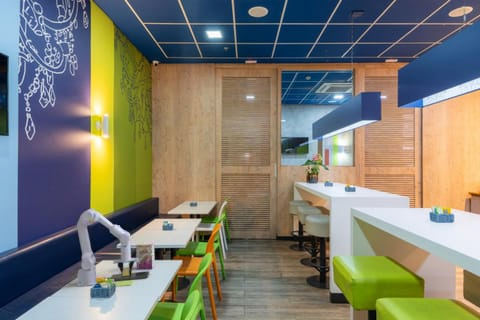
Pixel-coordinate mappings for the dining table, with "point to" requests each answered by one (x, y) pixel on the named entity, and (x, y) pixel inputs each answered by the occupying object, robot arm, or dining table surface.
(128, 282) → the green rubber pad
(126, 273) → the brass nut block
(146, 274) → the graphite rail
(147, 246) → the candy bar box
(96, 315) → the dining table surface
